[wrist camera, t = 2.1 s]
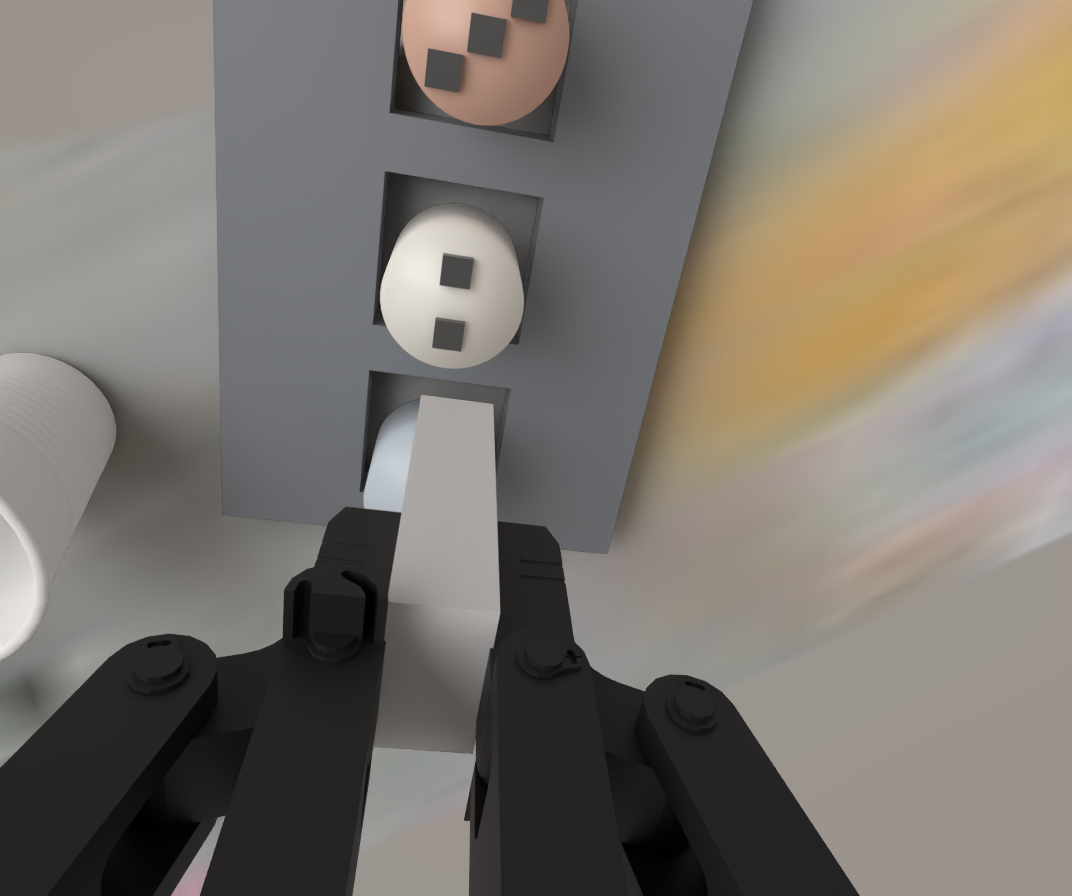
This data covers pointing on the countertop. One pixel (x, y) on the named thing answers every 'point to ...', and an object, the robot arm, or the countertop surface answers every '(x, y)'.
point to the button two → (452, 287)
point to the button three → (486, 54)
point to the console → (472, 159)
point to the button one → (392, 459)
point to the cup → (43, 479)
